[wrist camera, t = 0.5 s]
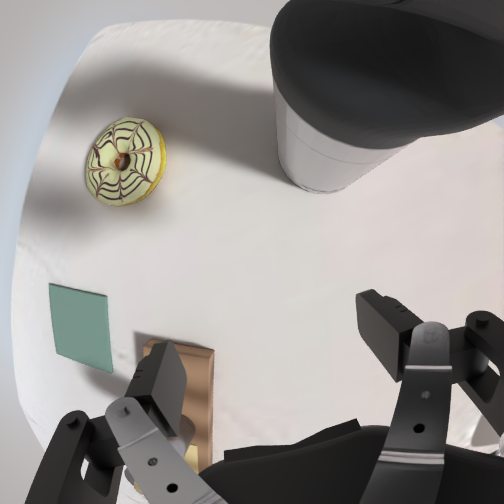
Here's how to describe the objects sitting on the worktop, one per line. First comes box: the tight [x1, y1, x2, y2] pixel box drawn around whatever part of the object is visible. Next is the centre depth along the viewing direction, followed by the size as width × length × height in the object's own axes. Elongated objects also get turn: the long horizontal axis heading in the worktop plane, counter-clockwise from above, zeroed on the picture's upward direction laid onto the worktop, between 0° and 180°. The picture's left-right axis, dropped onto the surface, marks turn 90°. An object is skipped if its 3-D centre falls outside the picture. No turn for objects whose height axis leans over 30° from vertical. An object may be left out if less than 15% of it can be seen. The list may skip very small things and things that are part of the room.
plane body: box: [143, 339, 214, 474], centre depth 32 cm, size 22×8×3 cm, turn 175°
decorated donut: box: [86, 117, 166, 206], centre depth 29 cm, size 10×11×4 cm
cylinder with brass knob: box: [125, 414, 196, 494], centre depth 24 cm, size 5×5×13 cm
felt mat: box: [49, 284, 113, 373], centre depth 33 cm, size 11×11×1 cm
